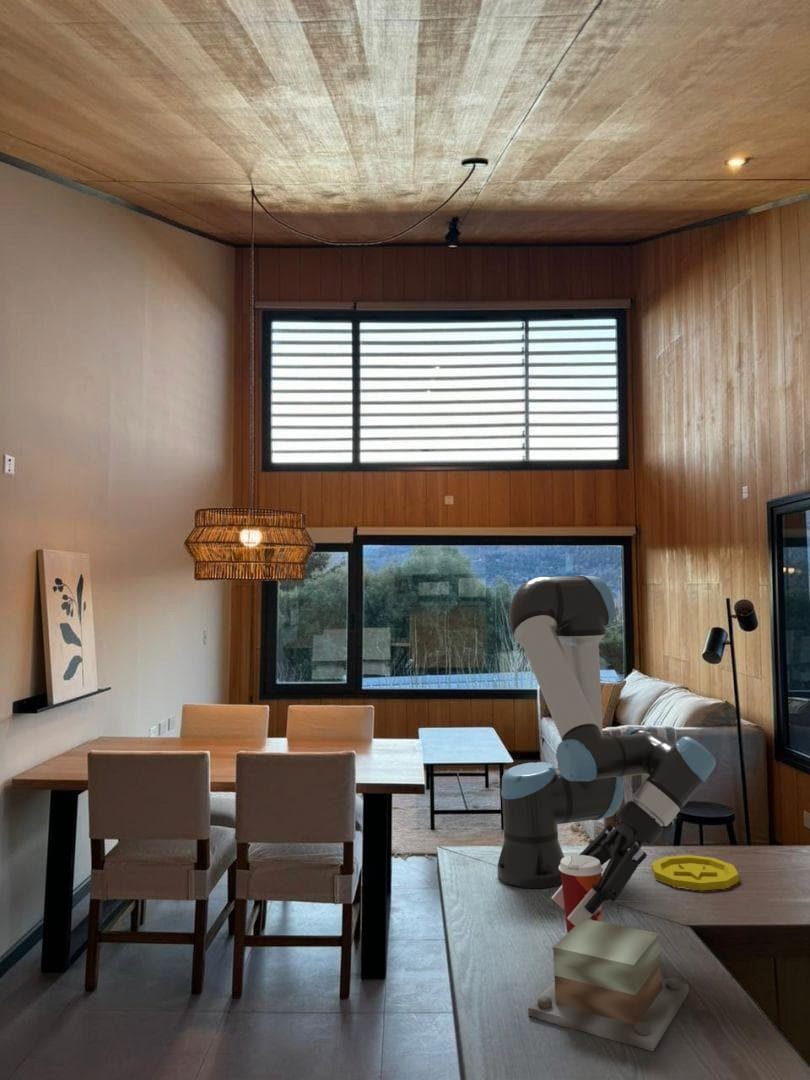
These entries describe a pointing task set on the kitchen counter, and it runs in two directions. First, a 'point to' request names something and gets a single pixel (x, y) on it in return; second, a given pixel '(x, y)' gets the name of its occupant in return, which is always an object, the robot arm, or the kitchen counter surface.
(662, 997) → the bolted block on plate
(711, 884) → the decorative disc
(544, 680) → the robot arm
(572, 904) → the paper cup
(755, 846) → the kitchen counter surface
